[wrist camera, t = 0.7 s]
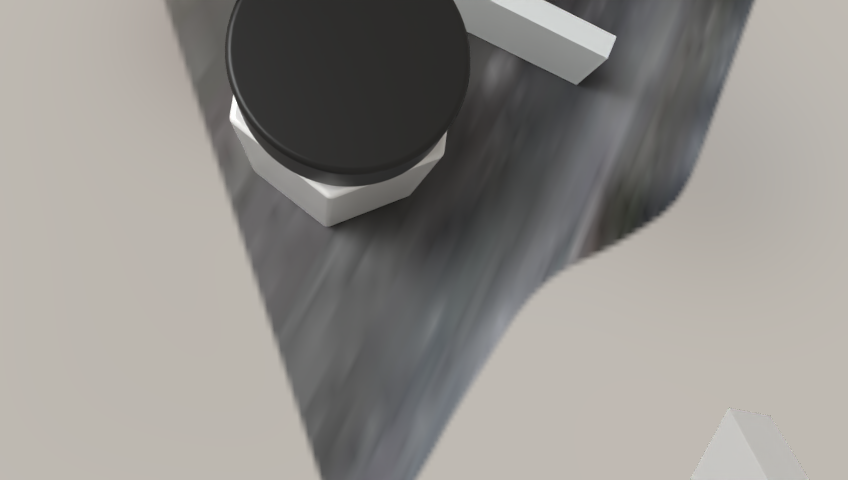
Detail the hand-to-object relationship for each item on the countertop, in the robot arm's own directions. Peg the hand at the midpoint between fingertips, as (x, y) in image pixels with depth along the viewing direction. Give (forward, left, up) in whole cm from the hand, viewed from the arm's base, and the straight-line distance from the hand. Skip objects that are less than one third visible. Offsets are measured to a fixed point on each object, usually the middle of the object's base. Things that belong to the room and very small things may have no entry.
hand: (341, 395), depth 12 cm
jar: (-8, +5, -22) cm, 24 cm away
